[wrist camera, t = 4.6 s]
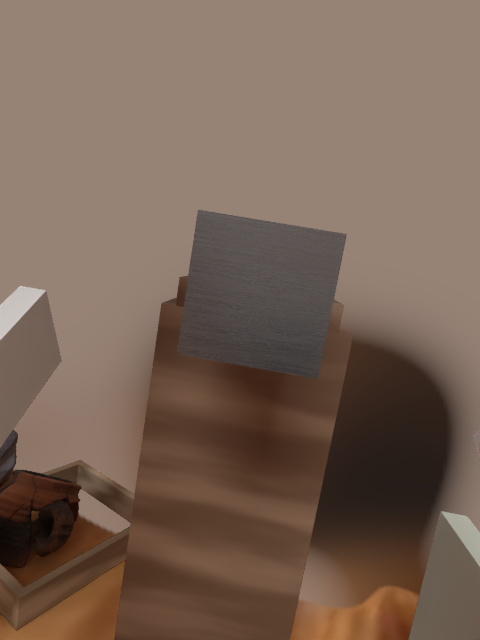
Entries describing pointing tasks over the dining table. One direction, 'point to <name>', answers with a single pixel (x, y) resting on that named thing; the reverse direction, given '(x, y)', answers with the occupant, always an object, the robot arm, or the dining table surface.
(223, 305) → the bar
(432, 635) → the slotted cradle
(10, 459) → the perforated stone tool
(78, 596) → the dining table surface
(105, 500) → the coaster tray
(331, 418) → the walnut stand
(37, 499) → the pottery mug
